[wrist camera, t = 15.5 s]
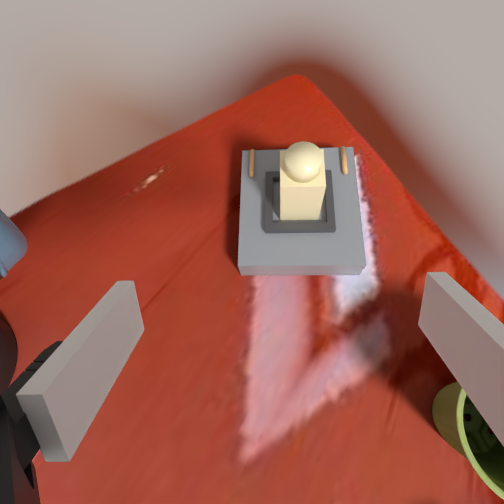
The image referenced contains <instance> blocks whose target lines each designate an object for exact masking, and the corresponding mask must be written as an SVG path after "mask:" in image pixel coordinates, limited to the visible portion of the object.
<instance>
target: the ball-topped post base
mask: <svg viewBox="0 0 504 504" xmlns="http://www.w3.org/2000/svg"><path fill="white" fill-rule="evenodd" d="M319 149H324V163H325V177H326V189H325V193H324V198H323V202H322V206H321V210H320V215H319V219H318V220H280V151H283V150H287V149H279V150H253V149H251V150H250V151H242V172H241V197H240V221H239V246H238V268H239V271H240V274H241V275H359V274H360V273H361V272H362V270H363V269H364V268H365V266H366V259H365V250H364V241H363V232H362V223H361V214H360V205H359V196H358V187H357V178H356V169H355V160H354V151H353V147H345V146H342V147H337V148H319Z"/></svg>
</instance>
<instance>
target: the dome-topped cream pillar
mask: <svg viewBox="0 0 504 504" xmlns="http://www.w3.org/2000/svg"><path fill="white" fill-rule="evenodd" d="M325 189H326V177H325V163H324V149H319V148H318V147H317V146H316V145H315V144H313V143H310V142H297V143H295V144H293V145H291V146H290V147H289V148H288V149H287V150H283V151H280V220H318V219H319V215H320V210H321V206H322V202H323V198H324V193H325Z"/></svg>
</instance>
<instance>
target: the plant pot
mask: <svg viewBox="0 0 504 504" xmlns="http://www.w3.org/2000/svg"><path fill="white" fill-rule="evenodd" d="M465 414H469V415H470V416H471V420H470V421H466V420H465V419H464V415H465ZM432 415H433V420H434V423H435V426H436V428H437V429H438V431H439V433H440V434H441V436H442V437H443V439H444V440H445V441H446V442H447V443H448V444H450V445H451V446H452V447H453V448H454V449H455V450H457V451H458V452H459V453H460V454H461V455H463V456H464V457H465V458H466V459H468V460H469V462H470V464H471V465H472V467H473V468H474V470H475V471H476V473H477V474H478V475H479V477H480V478H481V479H482V480H483V482H484V483H485V484H486V485H487V486H488V487H489V488H490V489H491V490H492V491H493V492H495V493H496V494H497V495H498V496H499V497H500V498H502V499H503V500H504V446H503V445H502V444H501V442H500V441H499V439H498V438H497V436H496V435H495V434H494V432H493V434H490V433H488V430H489V425H488V424H487V422H486V421H485V419H484V418H483V417H482V415H481V414H480V412H479V411H478V410H477V408H476V407H475V405H474V404H473V402H472V401H471V400H470V398H469V397H468V395H467V394H466V392H465V391H464V390H463V388H462V387H461V385H460V384H459V383H458V381H457V382H454V383H451V384H449V385H447V386H445V387H443V388H442V389H441V390H440V391H439V392H438V393H437V395H436V396H435V399H434V401H433V406H432ZM486 441H487V442H486ZM487 443H488V444H487Z"/></svg>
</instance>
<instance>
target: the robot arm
mask: <svg viewBox="0 0 504 504" xmlns="http://www.w3.org/2000/svg"><path fill="white" fill-rule="evenodd" d="M27 247H28V243H27V240H26V238H25V236H24V235H23V233H22V232H21V231H20V230H19V228H18V227H17V226H16V225H15V224H14V223H13V222H12V221H11V220H10V219H9V218H8V217H7V216H6V215H5V214H4V213H3V212H2V211H1V210H0V279H2V278H3V277H6V275H7V274H8V271H9V270H10V269H11V268H12V267H13V266H14V265H15V264H16V263H17V262H18V261H19V260H20V259H21V258H22V257H23V256H24V255H25V253H26V252H27ZM418 326H419V327H420V329H421V330H422V331H423V333H424V334H425V336H426V337H427V339H428V340H429V341H430V343H431V344H432V346H433V347H434V348H435V350H436V351H437V353H438V354H439V356H440V357H441V358H442V360H443V361H444V363H445V364H446V366H447V367H448V368H449V370H450V371H451V373H452V374H453V375H454V377H455V378H456V380H457V381H458V383H459V384H460V385H461V387H462V388H463V390H464V391H465V392H466V394H467V395H468V397H469V398H470V400H471V401H472V402H473V404H474V405H475V407H476V408H477V410H478V411H479V412H480V414H481V415H482V417H483V418H484V419H485V421H486V422H487V424H488V425H489V427H490V428H491V429H492V431H493V432H494V434H495V435H496V436H497V438H498V439H499V441H500V442H501V444H502V445H503V446H504V324H502V323H501V322H500V321H499V320H498V319H497V318H496V317H495V316H494V315H493V314H491V313H490V312H489V311H488V310H487V309H486V308H485V307H484V306H483V305H481V304H480V303H479V302H478V301H477V300H476V299H475V298H474V297H473V296H471V295H470V294H469V293H468V292H467V291H466V290H465V289H464V288H463V287H461V286H460V285H459V284H458V283H457V282H456V281H455V280H454V279H453V278H451V277H450V276H449V275H448V274H447V273H446V272H427V275H426V281H425V287H424V293H423V298H422V304H421V310H420V316H419V322H418ZM143 332H144V326H143V321H142V317H141V312H140V308H139V303H138V299H137V294H136V290H135V285H134V281H117V282H116V283H115V284H114V285H113V286H112V288H111V289H110V290H109V291H108V292H107V293H106V294H105V295H104V297H103V298H102V299H101V300H100V301H99V302H98V303H97V304H96V305H95V307H94V308H93V309H92V310H91V311H90V312H89V313H88V314H87V316H86V317H85V318H84V319H83V320H82V321H81V322H80V323H79V324H78V326H77V327H76V328H75V329H74V330H73V331H72V332H71V333H70V335H69V336H68V337H67V338H66V339H65V340H64V341H57V342H55V343H54V344H52V345H51V346H49V347H48V348H46V349H45V350H43V351H42V352H41V354H40V355H39V356H38V357H37V358H36V359H35V360H34V362H33V363H31V364H30V365H29V366H28V367H27V368H26V369H25V370H26V371H25V372H23V373H22V374H21V375H20V376H19V377H18V378H17V379H16V380H15V381H14V382H13V383H12V384H11V385H10V386H9V384H10V382H11V379H12V377H13V374H14V371H15V367H16V361H17V345H16V340H15V336H14V334H13V332H12V330H11V328H10V327H9V325H8V324H7V323H6V322H5V321H4V320H2V319H1V318H0V504H40V498H39V491H38V485H37V478H36V472H35V467H34V465H33V463H32V459H33V458H34V456H35V455H36V453H37V452H38V450H39V449H40V450H41V452H42V454H43V457H44V459H45V461H46V462H70V460H71V458H72V456H73V455H74V453H75V451H76V449H77V448H78V446H79V444H80V442H81V441H82V439H83V437H84V435H85V434H86V432H87V430H88V428H89V427H90V425H91V423H92V421H93V420H94V418H95V416H96V414H97V413H98V411H99V409H100V407H101V405H102V404H103V402H104V400H105V398H106V397H107V395H108V393H109V391H110V390H111V388H112V386H113V384H114V383H115V381H116V379H117V377H118V376H119V374H120V372H121V370H122V369H123V367H124V365H125V363H126V362H127V360H128V358H129V356H130V354H131V353H132V351H133V349H134V347H135V346H136V344H137V342H138V340H139V339H140V337H141V335H142V333H143ZM8 386H9V387H8Z"/></svg>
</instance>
